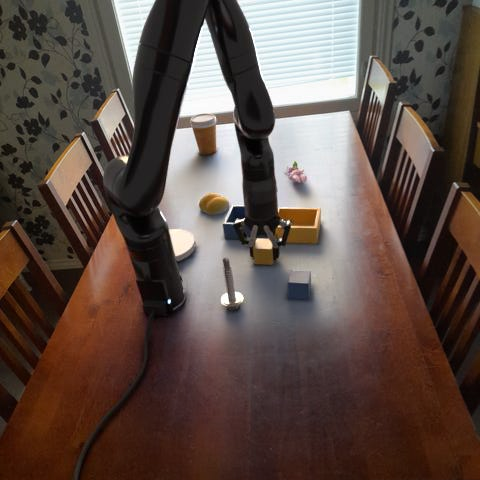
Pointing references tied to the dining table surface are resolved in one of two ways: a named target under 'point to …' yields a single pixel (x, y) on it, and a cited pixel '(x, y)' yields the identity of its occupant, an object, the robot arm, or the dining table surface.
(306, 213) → the ochre bin
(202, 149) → the disposable coffee cup
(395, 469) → the dining table surface
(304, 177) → the pink flower bud
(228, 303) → the screw
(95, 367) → the dining table surface
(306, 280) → the blue block
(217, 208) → the bread roll
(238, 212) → the blue bin
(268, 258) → the ochre block
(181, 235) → the plastic lid
